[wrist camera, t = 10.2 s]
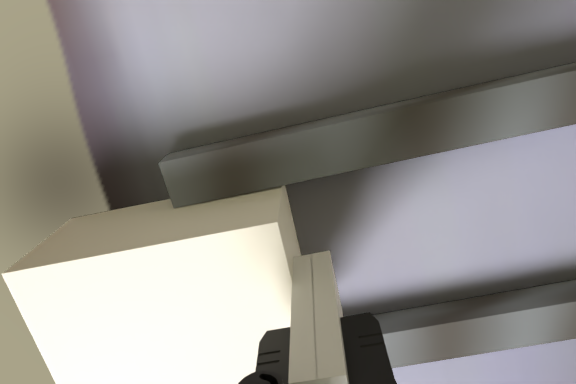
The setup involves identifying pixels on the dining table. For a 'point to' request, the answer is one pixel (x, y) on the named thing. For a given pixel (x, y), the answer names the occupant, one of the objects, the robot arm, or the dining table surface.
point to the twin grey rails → (396, 147)
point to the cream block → (160, 290)
